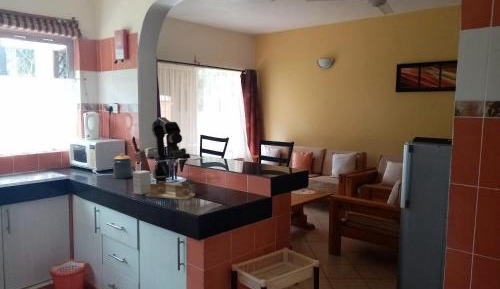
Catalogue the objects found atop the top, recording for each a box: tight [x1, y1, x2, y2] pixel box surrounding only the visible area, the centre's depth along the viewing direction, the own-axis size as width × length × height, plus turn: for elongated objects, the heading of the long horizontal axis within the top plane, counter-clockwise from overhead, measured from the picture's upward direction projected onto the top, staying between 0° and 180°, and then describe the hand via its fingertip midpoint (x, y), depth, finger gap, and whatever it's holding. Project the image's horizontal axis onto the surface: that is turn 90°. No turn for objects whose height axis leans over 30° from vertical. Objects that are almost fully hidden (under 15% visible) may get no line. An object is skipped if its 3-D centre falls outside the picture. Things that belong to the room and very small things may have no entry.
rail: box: [165, 182, 196, 194], centre depth 216 cm, size 4×20×5 cm, turn 70°
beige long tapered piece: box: [144, 181, 196, 200], centre depth 208 cm, size 10×26×7 cm, turn 70°
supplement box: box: [132, 170, 152, 195], centre depth 216 cm, size 7×7×13 cm
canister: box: [112, 152, 133, 180], centre depth 269 cm, size 13×13×18 cm
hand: (174, 173), depth 204 cm, fingers open, 9 cm apart
